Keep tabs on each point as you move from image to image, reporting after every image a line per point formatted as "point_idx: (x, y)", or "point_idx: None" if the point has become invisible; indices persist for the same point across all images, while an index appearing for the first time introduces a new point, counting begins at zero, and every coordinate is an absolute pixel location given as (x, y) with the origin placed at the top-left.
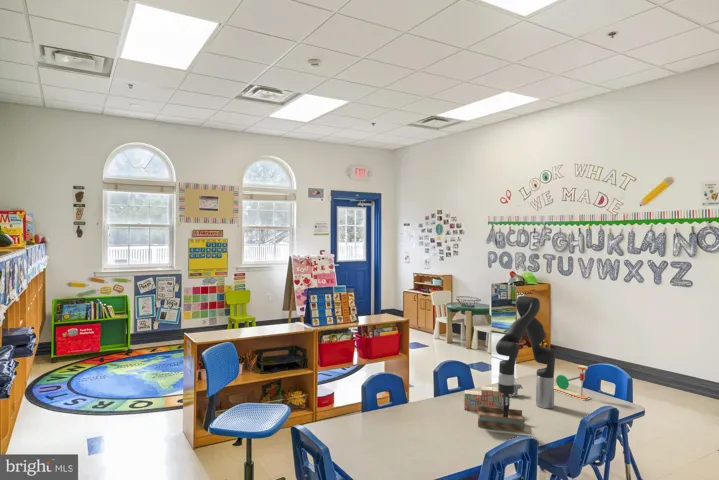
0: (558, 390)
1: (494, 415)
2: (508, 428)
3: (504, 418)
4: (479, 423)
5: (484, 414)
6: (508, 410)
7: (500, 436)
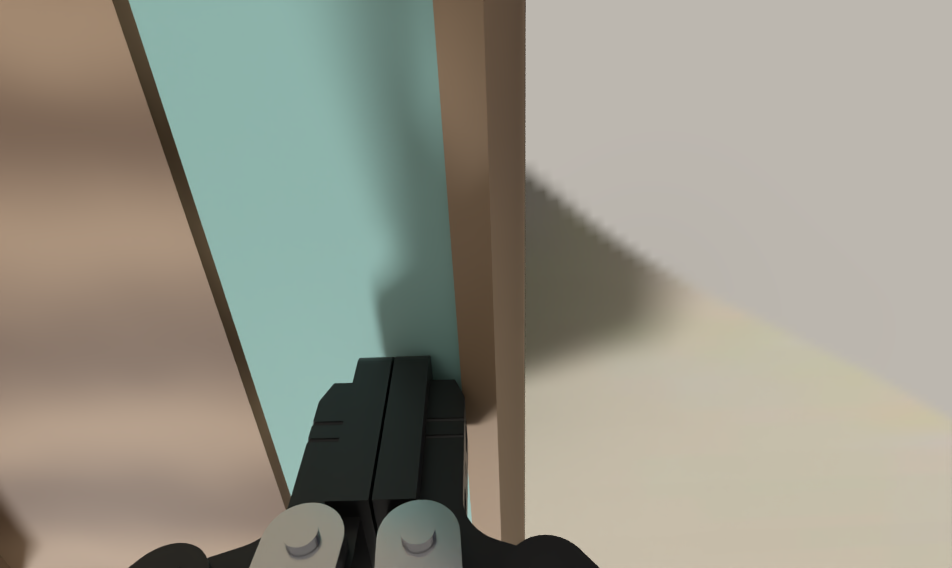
0: None
1: (33, 427)
2: None
3: (513, 420)
4: None
5: (99, 525)
6: (589, 564)
7: (535, 270)
